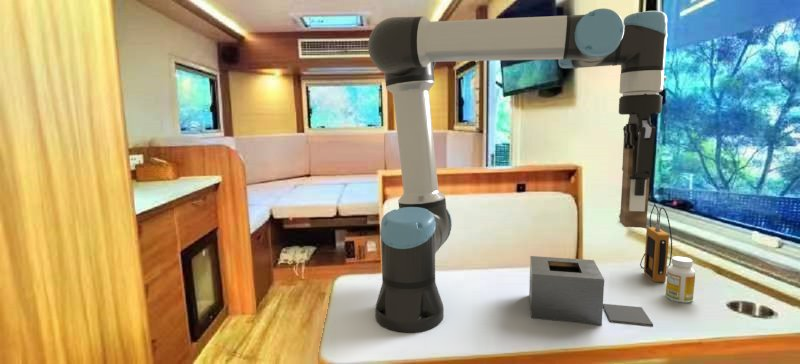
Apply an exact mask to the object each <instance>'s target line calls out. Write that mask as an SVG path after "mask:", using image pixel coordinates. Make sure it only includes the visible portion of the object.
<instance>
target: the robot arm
mask: <svg viewBox="0 0 800 364" xmlns="http://www.w3.org/2000/svg"><path fill="white" fill-rule="evenodd" d="M368 38H369V39H368V43H367V49H368V54H369V58H370V59H371V62H372V63H373V64H374V65H375V67H377V69H379V70H380V71H381V72H383V73H384V81H385V82H384V83H385V88H386V90H387V91H388V92H389V93H391V94H392V96H393V106H394V113H395V114H394V116H395V123H396V133H397V142H398V152H399V163H400V170H401V171H400V172H401V181H402V190H403V193H402V195H401V196H400V197H399V199H398V208H397V209H391V210H390V211H388V212H386V213H385V214H384V215H383V217H382V218H381V220H380V231H379V235H380V247H381V248H380V249H381V253H380V255H381V274H382V275H381V277H382V281H381V282H382V284H381V287H380V290H379V293H378V297H377V301H376V304H375V308H374V310H375V313H374V314H375V316H374V317H375V320H376V322H377V323H378V324H379V325H380V326H381V327H383V328H385V329H387V330H391V331H393V332H401V333H419V332H423V331H427V330H430V329H433V328H436V327H437V326H438V325H440V324H441V323H442V322H443V319H444V317H445V316H444V304H443V300H442V298H441V296H440V293H439V290H438V286H437V284H436V253H438V251H439V249H440V248H442V246H443V245H444V244H445V243H446V241H447V240H448V239H449V236H450V235H451V231H452V226H453V225H452V224H453V223H452V221H453V220H452V217H451V214H450V212H449V211H450V210H448V209H447V201H446V195H445V194H444V193H443V192H441V191H440V189H439V183H438V173H437V171H438V170H437V162H436V160H437V159H436V151H435V142H434V130H433V121H432V119H433V118H432V108H431V99H430V90H431V89H432V87H434V85H435V73H434V72H435V71H434V68H435V65H436V63H438V62H439V63H440V62H441V63H442V62H479V61H480V62H485V61H486V62H487V61H490V62H491V61H495V62H496V61H533V60H534V61H536V60H545V61H546V60H558V66H559V67H560V68H562V69H574V70H576V69H579V68H583V69H584V68H597V67H610V66H612V67H613V66H620V75H619V94H622V96H620V97H619V99H618V100H619V101H618V114H619V115H622V116H623V115H627V116H628V115H629V117H628V120H627V123H625V125H624V126H623V128H622V131H623V147H622V148H623V149H622V161H623V160H624V148H633V176H629V179H631V183H630V199H629V211H645V199H646V184H647V179H648V178H651V177H652V170H653V169H652V167H653V156H654V155H653V154H654V143H655V136H656V132H657V128H656V126H653V124H652V123H651V115H659V114H661V113H662V111H663V110H662V109H663V97H664V96H662V95H661V94H660V93H661V92H663V90H664V82H666V81H667V76H664V74H665V61H666V51H667V50H666V49H667V39H668V17H667V14H666V13H665V12H663V11H660V10H647V11H646V10H645V11H642V12H641V11H640V12H635V13H631V14H629V15H627V16H625V18H624V19H622V17H621V16H620V14H619V13H618V12H616V11H614V10H612V9H610V8H596V9H594V10H592V11H589V12H587V13H586V14H573V15H553V16H552V15H551V16H532V17H531V16H528V17H508V18H506V17H505V18H504V17H503V18H488V19H487V18H481V19H480V18H479V19H462V20H460V19H459V20H441V21H440V20H439V21H431V20H430V19H429V18H428V17H427V16H424V15H422V16H394V17H393V16H392V17H388V18H385V19H383V20H381V21H380V22H379V23H378V24H376V25H375V27H373V29H372V31H371V33H370V34H369V37H368ZM621 170H622V171H623V165H622V167H621Z"/></svg>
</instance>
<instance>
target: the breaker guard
mask: <svg viewBox="0 0 800 364" xmlns="http://www.w3.org/2000/svg"><path fill="white" fill-rule="evenodd" d="M529 259H530V260H529V262H530V263H529V293H528V295H529V305H530V307H529V309H530V319H538V320H546V321H558V322H565V323H566V322H567V323H577V324H578V323H579V324H585V325H586V324H587V325H595V326H603V310H604V307H603V304H604V292H605V291H604V290H605V278H604V276H603V274H602V273H601V271H600V269H599V267H598V264H596V261H595V260H594V259H586V258H585V259H583V258H582V259H580V258H570V257H569V258H568V257H567V258H566V257H555V256H554V257H552V256H537V255H535V256H534V255H530V257H529Z"/></svg>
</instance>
